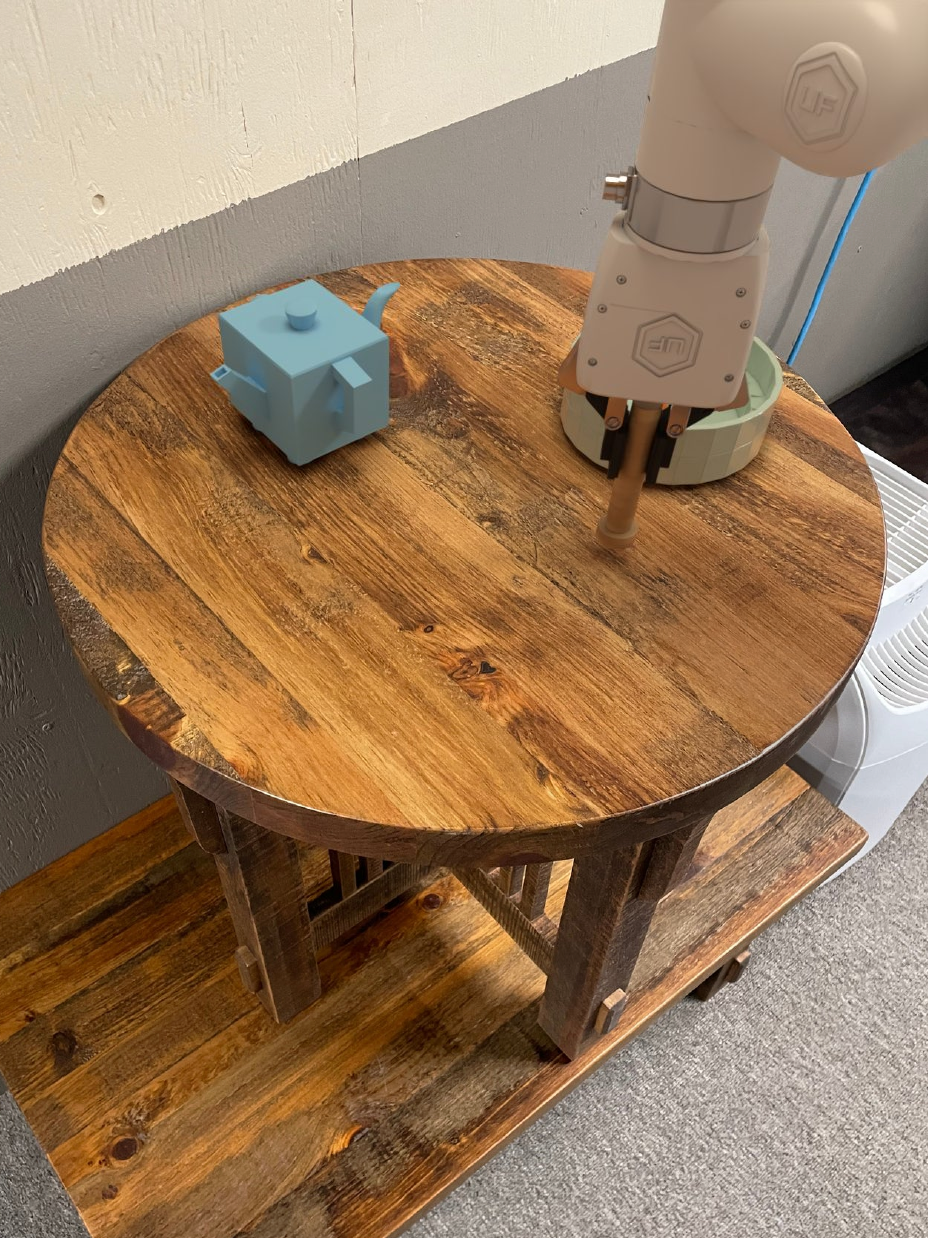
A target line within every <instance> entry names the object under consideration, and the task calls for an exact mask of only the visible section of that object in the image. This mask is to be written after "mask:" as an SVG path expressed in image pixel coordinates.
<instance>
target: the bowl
mask: <svg viewBox="0 0 928 1238" xmlns="http://www.w3.org/2000/svg"><path fill="white" fill-rule="evenodd" d="M580 336H581V331H580V332H579V333H578V334H577V336H576V337H575V338H574V340H573V342H572V343H571V345H570V349H569V351H570V350H571V349H572V347H573V346H574V345H575V343H576V342H577V340H578V339H579V337H580ZM593 362H594V361H593ZM746 374H747V381H748V387H749V402H748V404H747V405H745V406H743V407H740V408H735V409H730V410H725V411H721V412H718V411H715V412H713V413H712V414H711V415H709V416H707V417H706V418H704V419H702V420H700V421H699V422H697V423H695V424H693V425H692V426H690V427H688V428H686V430H685V433H684V434H683V435H682V436H681V437H679V438H677V441H676V444H675V448H674V452H673V455H672V459H671V462H670V466H669V468H660V469H659V473H658V477H657V481H656V484H661V485H671V486H679V485H680V486H681V485H699V484H704V483H708V482H712V481H717V480H721V479H725V478H727V477H728V476H731V475H732V474H735V473H736V472H739V471H740V470H743V469H744V468H745V467H746V466H748V465H749V463H751V461H753V459H754V458H756V456H758V454H759V452H760V449H761V447H762V445H763V443H764V440H765V437H766V434H767V432H768V429H769V425H770V423H771V420H772V417H773V414H774V412H775V409H776V406H777V403H778V401H779V398H780V395H781V393H782V390H783V387H784V379H783V367H782V366H781V364H780V362H779V360H778V358H777V356H776V355H775V353H774V351H773V350H772V349H771V348H770V347H769V346H767V345H766V344H765V342H763V341H762V339H761V338H759V337H757V336H756V335H754V339H753V343H752V346H751V350H750V354H749V358H748V361H747V365H746ZM632 401H633V400H628V401H627V405H628V410H629V411H630V410H631V405H632ZM559 417H560V420H561V424H562V428H563V431H564V433H565V434H566V436H567V437H568V438H569V440H570V441H571V443H572V444H573V446H574V447H575V448H576V449H577V450H579V451H580V452H581V453H582V454H583V455H585V456H586V457H587V458H588V459H590V460H591V461H592V462H593V463H595V464H597V465H598V466H601V467H603V468H605V469H607V470H608V464H609V461H605V460H600V454H601V447H602V442H603V437H604V432H605V425H604V419H603V418H602V417H601V416H600V415H599V414H598V412H597V411H596V410H595V409H594V408H593V407H592V405H591V404H590V403H589V402H588V401H587V399H586V397H585V396H583V395H578V394H576V393H574V392H573V391H571V390H569V389H567V388H565V387H563V394H562V399H561V406H560V411H559ZM645 475H646V473H645ZM643 482H645V477H644V481H643Z"/></svg>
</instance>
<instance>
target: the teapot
mask: <svg viewBox="0 0 928 1238" xmlns="http://www.w3.org/2000/svg"><path fill="white" fill-rule="evenodd" d="M400 287H401V283H400V282H395V281H394V282H389V283H386V284H384V285H382V286H380V287H378V288H377V289H376V290H375V291H374V292H373V293H372V294H371V295H370V296H369V299H368V300H367V302H366V304H365V306H364V308H363V311H362V313H361V314H360V313H359V312H357V311H356V310H355V309H354V308H352V307H351V306H350V305H348V303H346V302H344V301H343V300H342V299H340V298H339V297H338V296H336V295H335V294H334V293H332V292H331V291H329V290H328V289H327V288H326V287H324V286H323V285H322V284H320V283H319V282H317V281H316V280H315V279H313V278H310V279H308V280H306V281H302V282H300V283H297V284H294V285H292V286H289V287H286V288H284V289H281V290H277V291H275V292H273V293H270V294H268V293H261V294H258V295H256V296H254V297H252V298H251V299H250V301H249V302H246V303H244V304H241V305H239V306H236V307H234V308H231V309H228V310H226V311H222V312H219V313H218V314H217V322H218V328H219V334H220V335H219V336H220V342H221V348H222V356H223V364H221V366H219V367H218V368H216V369H215V370H214V371H212V372H210V374H209V377H211V378H212V380H213V381H215V382H216V383H217V384H218V385H219V386H221V387H222V388H223V389H225V390H226V391H227V392H228V394H229V395H228V396H229V402H230V404H231V405H232V406H234V408H236V409H237V410H238V411H239V412H240V413H241V414H242V415H243V416H244V417H245V418H246V419H247V420H248V421H250V423H252V428H254V429H255V430H256V431H259V432H261V433H262V434H263V435H264V436H266V438H268V439H269V440H270V441H271V442H272V443H273V444H274V445H275V446H276V447H277V448H278V449H280V450H281V451H282V452H283V453H284V454H285V456H287V460H288V461H289V462H290V463H291V464H294V465H295V464H296V466H298V467H300V466H303V465H306V464H309V463H311V462H312V461H313V460H315V459H318V458H320V457H322V456H324V455H326V454H329V453H330V452H333V451H335V450H338V449H340V448H342V447H344V446H347V445H349V444H351V443H353V442H355V441H357V440H362V439H364V438H365V437H366V436H368V435H371V434H373V433H375V432H377V431H379V430H382V429H383V428H384V429H385V428H386V427H388V426H389V425H390V338H389V336H388V334H386V333H385V332H383V331H382V330H381V324H382V319H383V315H384V311H385V308H386V306H387V304H388V302H389V300H390V299H391V298H392V297H393V296H394V294H396V292H398V290H399V289H400Z"/></svg>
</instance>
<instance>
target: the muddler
mask: <svg viewBox="0 0 928 1238" xmlns="http://www.w3.org/2000/svg"><path fill="white" fill-rule="evenodd" d="M662 407H663V404H661V403H653V402H645V401H636V400H633V401H632V405H631V410H630V414H629V418H628V435H627V440H626V444H625V449H624V453H623V457H622V462H621V466H620V470H619V475H618V478H615V479H614V480H613V485H612V489H611V494H610V498H609V502H608V507H607V511H606V513H604V514H602V515H601V516H600V517H599V519H598V521H597V525H596V529H595V537H596V540H597V541H598V543H599V544H600V545H601V546H603V547H605V548H607V549H610V550H614V551H615V550H616V551H621V550H626V549H628V548H630V547H632V546H633V545H634V544H635V542H636V539H637V535H638V532H639V524H638V521H637V520H636V519H635V516H636V513H637V508H638V505H639V501H640V497H641V492H642V489H643V488H642V487H643V485H644V482H645V481H644V477H645V473H646V469H647V465H648V461H649V457H650V453H651V449H652V445H653V442H654V438H655V434H656V430H657V427H658V423H659V419H660V415H661V411H662Z"/></svg>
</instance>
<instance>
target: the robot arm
mask: <svg viewBox="0 0 928 1238" xmlns="http://www.w3.org/2000/svg"><path fill="white" fill-rule="evenodd" d="M663 5H664V6H663V9H662V15H661V20H660V24H659V25H660V26H659V30H658V31H659V32H658V37H657V41H656V46H655V53H654V57H653V64H652V68H651V74H650V78H649V85H648V90H647V95H646V101H645V106H644V111H643V117H642V123H641V128H640V133H639V139H638V144H637V148H636V149H637V150H636V154H635V157H634V163H633V165H628V167H627V171H621V170H620V172H619V173H612V172H611V173H610V172H606V174H605V179H604V186H603V192H602V200H603V201H612V202H613V201H614V204H621V208H620V209H619V210H618V211H617V212H616V213H615V214H614V216H613V219H612V221H611V224H610V226H609V228H608V230H607V233H606V236H605V239H604V242H603V244H602V247H601V250H600V253H599V257H598V260H597V264H596V267H595V270H594V274H593V277H592V281H591V284H590V289H589V293H588V297H587V302H586V306H585V312H584V317H583V321H582V327H581V330H580V332H581V336H580V337H579V339H578V340H577V342H576V343H575V345H574V346H573V347H572V349H571V348H570V349H571V350H570V349H569V352H568V353H567V354H566V356H565V358H564V359H563V361H562V362H561V364H560V365H559V367H558V373H557V377H556V378H557V379H556V380H557V383H558V384H559V386H561V387H563V388H564V387H565V388H567V389H569V390H571V391H573V392H574V393H576V394H578V395H583V396H585V397H586V399H587V401H588V402H589V403H590V404H591V405H592V407H593V408H594V409H595V410H596V411H597V412H598V414H599V415H600V416H601V417H602V418H603V419H604V425H605V432H604V437H603V442H602V447H601V454H600V460H605V461H609V464H608V469H607V474H606V479H607V480H613V481H614V480H615V478H618V475H619V470H620V466H621V462H622V457H623V453H624V449H625V444H626V440H627V435H628V418H629V414H630V411H629V410H628V405H627V401H628V400H636V401H645V402H653V403H661V404H668V407H667V408H665V409H664V410H662V411H661V415H660V419H659V423H658V427H657V430H656V434H655V438H654V442H653V445H652V449H651V453H650V457H649V461H648V465H647V469H646V475H645V481H644V483H647V485H653V486H656V484H657V483H656V481H657V477H658V473H659V469H660V468H669V466H670V462H671V459H672V455H673V452H674V448H675V444H676V441H677V438H679V437H681V436H682V435H683V434H684V433H685V430H686V428H688V427H690V426H692V425H693V424H695V423H697V422H699V421H700V420H702V419H704V418H706V417H707V416H709V415H711V414H712V413H713V412H715V411H718V412H721V411H725V410H730V409H735V408H740V407H743V406H745V405H747V404H748V402H749V387H748V381H747V374H746V365H747V361H748V358H749V354H750V350H751V346H752V343H753V339H754V336H756V331H757V327H758V322H759V318H760V314H761V309H762V304H763V300H764V295H765V290H766V285H767V279H768V272H769V267H770V266H769V265H770V256H771V240H770V238H769V233H768V230H767V229H766V226H764V224H763V221H764V217H765V214H766V211H767V207H768V204H769V202H770V201H769V200H770V197H771V193H772V191H773V187H774V185H775V180H776V177H777V175H778V170H779V168H780V164H781V161H782V158H784V159H785V160H787V161H789V162H791V163H792V164H793V165H795V166H797V167H799V168H801V169H803V170H805V171H807V172H809V173H812V174H815V175H818V176H821V177H822V176H823V177H827V178H828V177H829V178H838V179H839V178H851V177H856V176H861V175H864V174H866V173H870V172H872V171H875V170H877V169H879V168H880V167H882V166H884V165H886V164H887V163H889V162H890V161H892V160H894V159H895V158H897V157H898V156H899V155H901V154H903V153H905V152H906V151H907V150H909V149H911V148H913V147H914V146H915V145H917V144H918V143H920V142H922V141H923V140H925V139H926V138H927V137H928V0H664V4H663ZM593 361H594V362H593Z"/></svg>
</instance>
